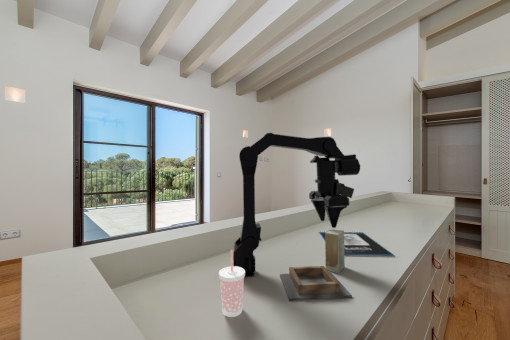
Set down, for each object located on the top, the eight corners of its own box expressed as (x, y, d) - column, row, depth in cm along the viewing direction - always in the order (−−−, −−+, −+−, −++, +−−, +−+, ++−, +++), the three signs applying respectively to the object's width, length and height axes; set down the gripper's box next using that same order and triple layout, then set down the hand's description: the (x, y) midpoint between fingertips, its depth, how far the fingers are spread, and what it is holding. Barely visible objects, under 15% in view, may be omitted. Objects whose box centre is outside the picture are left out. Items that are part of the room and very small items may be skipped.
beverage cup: (220, 303, 55) (219, 245, 55) (245, 302, 55) (244, 245, 55) (217, 319, 48) (216, 255, 49) (245, 318, 49) (245, 254, 49)
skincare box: (332, 263, 77) (331, 228, 77) (345, 266, 74) (344, 230, 74) (324, 270, 72) (324, 232, 72) (338, 274, 69) (338, 234, 69)
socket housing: (289, 300, 55) (289, 288, 55) (279, 276, 68) (279, 265, 68) (351, 297, 56) (351, 285, 56) (330, 273, 69) (330, 263, 69)
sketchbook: (334, 257, 84) (334, 252, 84) (318, 234, 114) (318, 230, 114) (394, 258, 82) (394, 252, 82) (361, 234, 112) (361, 230, 112)
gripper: (365, 176, 64) (368, 230, 64) (337, 174, 83) (339, 216, 83) (328, 177, 63) (330, 232, 63) (307, 176, 82) (309, 218, 82)
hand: (328, 224), depth 73 cm, fingers open, 9 cm apart
